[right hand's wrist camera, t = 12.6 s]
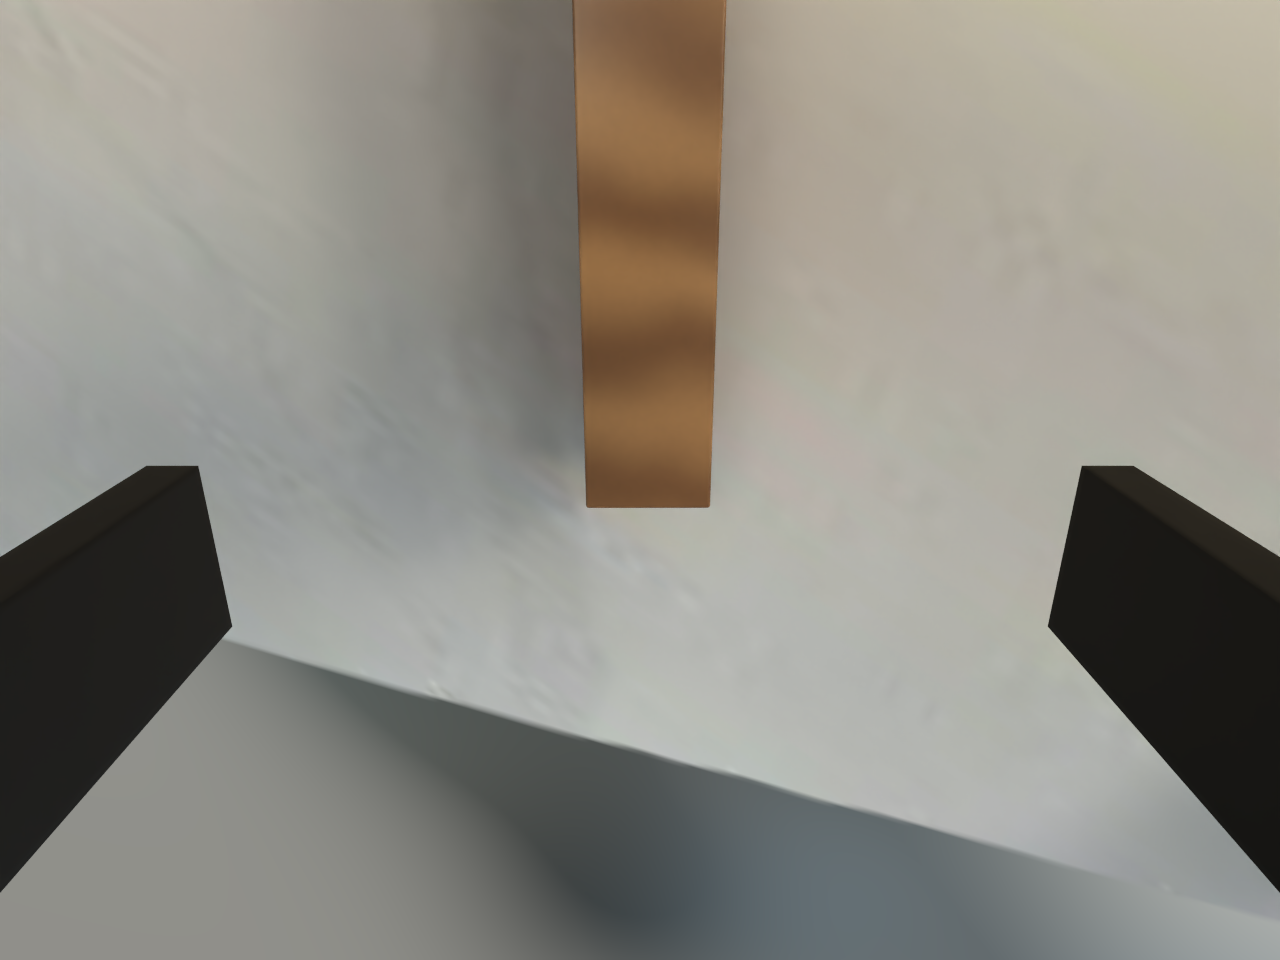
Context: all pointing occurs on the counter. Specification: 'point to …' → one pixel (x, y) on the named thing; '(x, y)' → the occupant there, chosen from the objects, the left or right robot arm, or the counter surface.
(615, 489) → the beam
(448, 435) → the counter surface
